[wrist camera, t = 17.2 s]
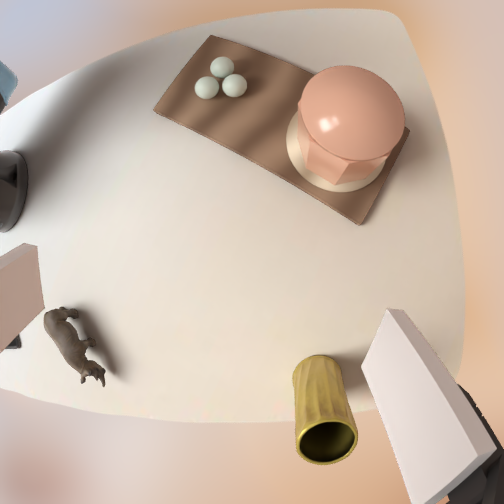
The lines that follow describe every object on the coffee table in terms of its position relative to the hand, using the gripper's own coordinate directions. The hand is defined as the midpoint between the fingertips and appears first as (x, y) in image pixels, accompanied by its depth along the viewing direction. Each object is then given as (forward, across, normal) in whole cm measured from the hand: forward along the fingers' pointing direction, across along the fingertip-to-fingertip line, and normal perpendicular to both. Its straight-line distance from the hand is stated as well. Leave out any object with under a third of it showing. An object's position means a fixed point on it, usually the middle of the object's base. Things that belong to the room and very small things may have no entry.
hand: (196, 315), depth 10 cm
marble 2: (+30, -5, +15) cm, 34 cm away
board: (+30, +3, +10) cm, 32 cm away
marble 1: (+29, -6, +12) cm, 32 cm away
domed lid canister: (+26, +10, +8) cm, 29 cm away
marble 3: (+29, -3, +13) cm, 32 cm away
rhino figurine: (+23, -19, -24) cm, 39 cm away
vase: (+19, +13, -19) cm, 30 cm away
